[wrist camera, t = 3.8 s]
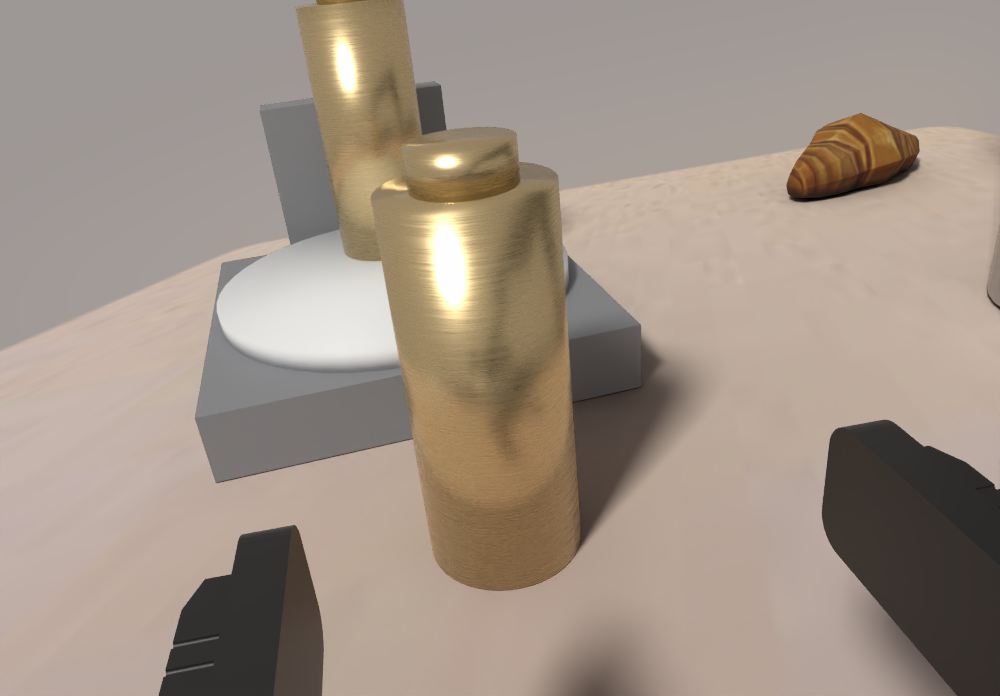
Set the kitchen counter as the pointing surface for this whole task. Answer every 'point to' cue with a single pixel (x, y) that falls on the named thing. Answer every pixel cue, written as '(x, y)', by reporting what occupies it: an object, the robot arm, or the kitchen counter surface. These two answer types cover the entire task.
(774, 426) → the kitchen counter surface
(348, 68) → the weight
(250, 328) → the scale
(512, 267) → the weight
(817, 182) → the croissant
